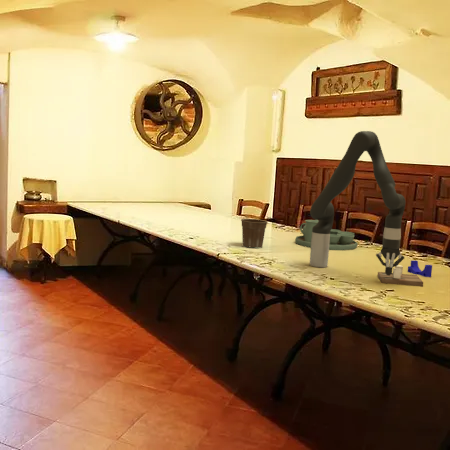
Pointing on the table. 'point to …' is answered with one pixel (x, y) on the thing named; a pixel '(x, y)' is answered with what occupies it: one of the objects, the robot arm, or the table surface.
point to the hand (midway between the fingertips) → (388, 274)
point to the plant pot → (253, 232)
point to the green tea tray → (336, 237)
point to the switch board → (404, 279)
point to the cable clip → (416, 270)
